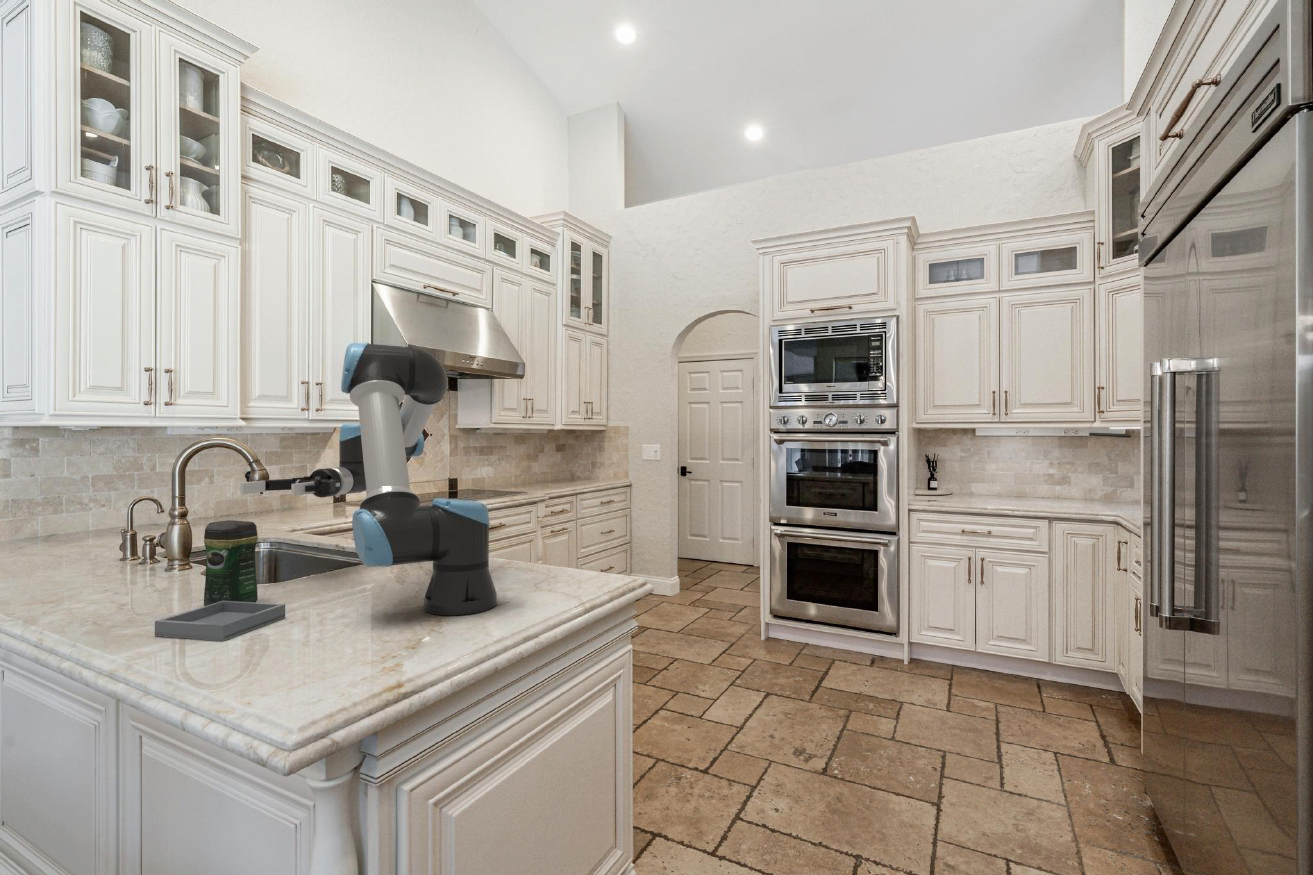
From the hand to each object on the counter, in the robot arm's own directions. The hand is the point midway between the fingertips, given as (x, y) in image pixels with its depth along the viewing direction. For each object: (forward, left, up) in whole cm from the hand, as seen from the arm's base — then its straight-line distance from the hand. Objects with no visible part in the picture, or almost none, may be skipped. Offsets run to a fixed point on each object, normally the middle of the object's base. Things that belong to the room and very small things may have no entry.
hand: (266, 489), depth 144 cm
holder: (-11, +23, -24) cm, 35 cm away
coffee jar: (0, +10, -25) cm, 27 cm away
